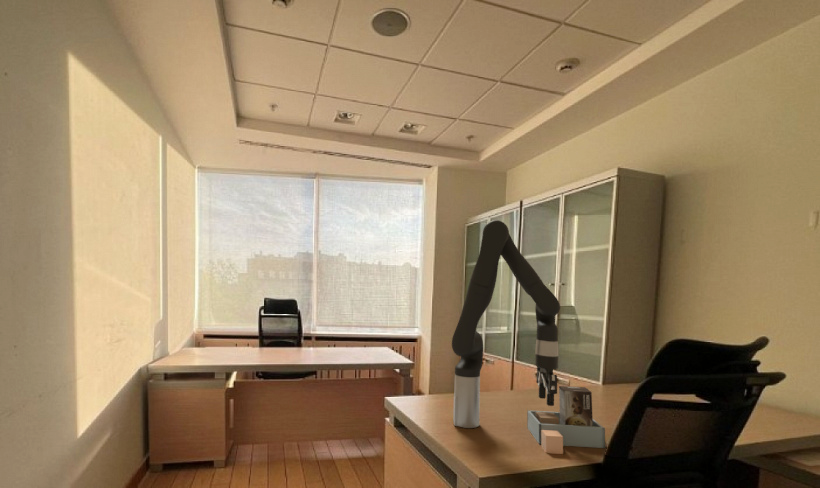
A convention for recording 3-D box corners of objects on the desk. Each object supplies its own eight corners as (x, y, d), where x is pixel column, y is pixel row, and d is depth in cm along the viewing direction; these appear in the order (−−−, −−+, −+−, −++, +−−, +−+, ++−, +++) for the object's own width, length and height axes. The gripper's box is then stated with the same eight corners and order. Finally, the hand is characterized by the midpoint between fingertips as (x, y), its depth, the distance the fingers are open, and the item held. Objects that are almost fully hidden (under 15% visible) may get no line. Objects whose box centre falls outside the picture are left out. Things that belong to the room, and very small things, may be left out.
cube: (546, 453, 113) (545, 435, 113) (541, 446, 118) (541, 429, 118) (563, 454, 112) (562, 436, 113) (557, 447, 117) (557, 430, 118)
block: (559, 437, 123) (558, 418, 124) (540, 436, 124) (540, 417, 124) (553, 431, 129) (553, 413, 130) (535, 430, 130) (535, 411, 130)
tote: (539, 443, 119) (538, 424, 120) (527, 427, 134) (527, 410, 135) (605, 448, 118) (604, 428, 119) (586, 431, 133) (585, 413, 133)
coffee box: (586, 435, 128) (585, 386, 131) (594, 443, 122) (592, 391, 124) (559, 433, 129) (558, 385, 131) (565, 440, 123) (564, 389, 125)
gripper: (565, 358, 123) (564, 409, 121) (550, 350, 137) (549, 396, 135) (542, 356, 123) (541, 407, 122) (530, 349, 138) (529, 395, 136)
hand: (546, 401), depth 129 cm, fingers open, 8 cm apart
